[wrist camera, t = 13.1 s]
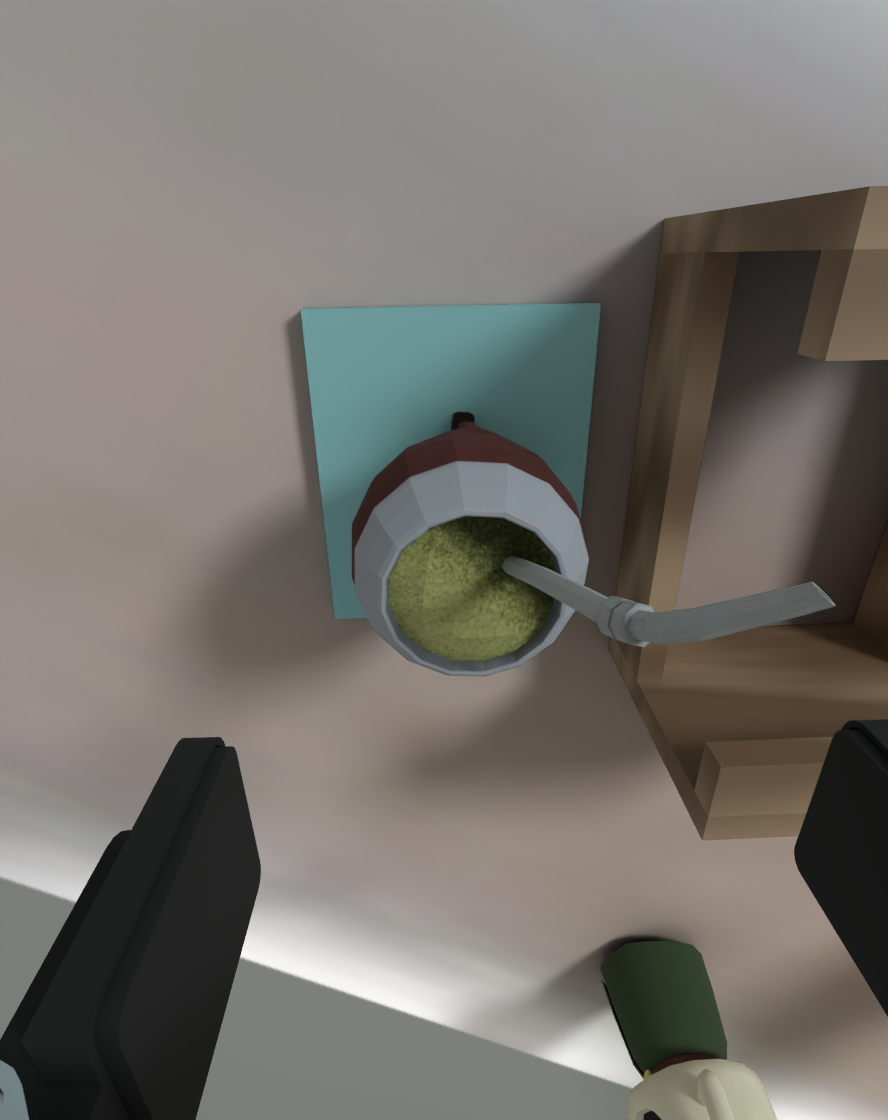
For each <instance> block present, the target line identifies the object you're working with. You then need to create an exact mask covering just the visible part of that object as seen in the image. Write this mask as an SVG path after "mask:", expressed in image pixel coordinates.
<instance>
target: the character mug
mask: <svg viewBox="0 0 888 1120" xmlns="http://www.w3.org/2000/svg"><path fill="white" fill-rule="evenodd" d="M601 971H602V974H603V977H604V980H605V983H606V984H605V983H603V981H602V983H603V986H604V989H605V992H606V995H607V998H608V1000H609V1003H610V1006H611V1009H612V1012H613V1015H614V1017H615V1020H616V1022H617V1025H618V1027H619V1030H620V1033H621V1035H622V1038H623V1040H624V1043H625V1045H626V1048H627V1050H628V1052H629V1055H630V1057H631V1060H632V1062H633V1065H634V1066H635V1068H636V1069H637V1071H638V1072H639V1073H640V1075H641V1076H642V1077H643V1079H644V1080H643V1081H642V1082H641V1083H639V1084H638V1085H637V1086H635V1087H634V1088H633V1090H632V1091H631V1092H630V1093H629V1095H628V1098H627V1107H628V1114H629V1119H630V1120H777V1118H776V1115H775V1113H774V1111H773V1108H772V1106H771V1103H770V1101H769V1099H768V1096H767V1094H766V1092H765V1089H764V1087H763V1085H762V1083H761V1081H760V1079H759V1077H758V1076H757V1074H756V1072H755V1071H753V1070H752V1069H750V1068H749V1067H747V1066H746V1065H744V1064H743V1063H740V1062H734V1061H728V1060H727V1041H726V1037H725V1033H724V1030H723V1026H722V1022H721V1019H720V1015H719V1011H718V1008H717V1004H716V1000H715V997H714V993H713V989H712V986H711V983H710V980H709V977H708V974H707V971H706V967H705V964H704V961H703V958H702V955H701V953H700V952H699V951H698V950H697V949H696V948H695V947H694V946H693V945H690V944H686V943H682V942H678V941H647V942H635V943H627V944H626V945H624V946H622V947H620V948H619V949H617V950H615V951H614V952H612V953H610V954H609V956H608V957H607V959H606V960H605V961H604V963H603V964H602V965H601Z"/></svg>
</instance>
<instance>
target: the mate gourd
mask: <svg viewBox="0 0 888 1120" xmlns="http://www.w3.org/2000/svg"><path fill="white" fill-rule="evenodd" d="M588 563H589V557H588V553H587V543H586V539H585V535H584V531H583V527H582V523H581V520H580V516H579V512H578V508H577V504H576V502H575V500H574V498H573V496H572V494H571V493H570V492H569V491H568V489H567V488H566V487H565V486H564V484H563V483H562V482H561V481H560V480H559V478H558V477H557V476H556V475H555V473H554V472H553V471H552V470H551V469H550V467H549V466H548V465H547V464H546V462H545V461H544V460H543V459H542V458H541V457H539V456H538V455H537V454H536V453H534V452H532V451H530V450H528V449H526V448H524V447H522V446H520V445H518V444H516V443H514V442H512V441H510V440H508V439H506V438H504V437H502V436H500V435H498V434H496V433H494V432H491V431H488V430H485V429H482V428H479V427H478V426H477V425H476V424H475V423H474V415H473V414H472V413H470V412H458V411H457V412H455V413H453V416H452V423H451V431H447V432H444V433H442V434H439V435H437V436H434V437H432V438H430V439H427V440H425V441H422V442H420V443H417V444H415V445H412V446H409V447H407V448H406V449H405V450H404V451H403V452H401V453H400V454H399V455H398V456H397V457H396V458H395V459H394V460H393V461H392V462H390V463H389V464H388V465H387V466H386V467H385V468H384V469H383V470H382V471H381V472H379V473H378V474H377V475H376V476H375V477H374V479H373V480H372V482H371V484H370V486H369V488H368V490H367V492H366V494H365V496H364V499H363V501H362V503H361V505H360V507H359V509H358V512H357V514H356V516H355V518H354V520H353V522H352V579H353V582H354V585H355V593H356V595H357V597H358V600H359V602H360V604H361V606H362V608H363V610H364V612H365V614H366V617H367V619H368V621H369V623H370V625H371V627H372V629H373V630H374V631H375V632H376V633H377V634H378V635H379V636H380V637H382V638H383V639H384V640H385V641H386V642H387V643H388V644H389V645H391V646H392V647H393V648H394V649H395V650H396V651H397V652H399V653H400V654H401V655H402V656H403V657H404V658H406V659H407V660H408V661H410V662H413V663H416V664H418V665H421V666H424V667H426V668H429V669H432V670H434V671H437V672H440V673H442V674H445V675H452V676H488V675H492V674H495V673H498V672H502V671H505V670H508V669H512V668H515V667H518V666H521V665H522V664H524V663H525V662H527V661H528V660H529V659H531V658H532V657H534V656H535V655H536V654H538V653H539V652H541V651H542V650H543V649H545V648H546V647H548V646H549V645H550V644H552V643H553V642H555V640H556V639H557V637H558V636H559V634H560V633H561V631H562V630H563V628H564V627H565V625H566V624H567V622H568V621H569V619H570V618H571V616H572V615H573V613H574V612H575V610H576V611H578V612H579V613H581V614H583V615H584V616H586V617H588V618H589V619H591V620H593V621H594V622H596V624H597V626H598V627H599V629H600V631H601V633H603V634H605V635H607V636H609V637H611V638H614V639H617V640H618V641H621V642H624V643H627V644H630V645H634V646H640V647H645V646H646V645H647V644H649V643H650V642H652V643H658V644H668V643H682V642H697V641H706V640H710V639H713V638H717V637H721V636H725V635H729V634H733V633H737V632H741V631H745V630H748V629H752V628H756V627H760V626H764V625H768V624H772V623H776V622H780V621H784V620H787V619H791V618H795V617H799V616H803V615H807V614H810V613H814V612H817V611H821V610H824V609H828V608H831V607H835V604H834V603H833V601H832V600H831V599H830V598H829V597H828V596H827V595H826V594H825V593H824V592H823V591H822V590H821V589H820V588H819V587H818V586H817V585H816V584H815V583H814V582H813V581H812V582H808V583H803V584H799V585H795V586H790V587H786V588H781V589H777V590H773V591H768V592H764V593H759V594H755V595H750V596H746V597H742V598H737V599H733V600H728V601H724V602H720V603H715V604H711V605H706V606H702V607H697V608H693V609H684V610H673V611H662V612H654V610H653V608H652V606H649V605H645V604H641V603H637V602H634V601H631V600H628V599H624V598H620V597H615V596H610V597H606V596H604V595H602V594H600V593H598V592H596V591H594V590H592V589H590V588H588V587H586V586H584V584H585V578H586V573H587V568H588Z"/></svg>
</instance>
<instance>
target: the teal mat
mask: <svg viewBox="0 0 888 1120" xmlns="http://www.w3.org/2000/svg"><path fill="white" fill-rule="evenodd" d="M600 310H601V304H599V303H561V304H507V305H452V306H397V307H342V308H303V309H301V319H302V328H303V337H304V346H305V355H306V364H307V373H308V382H309V391H310V400H311V409H312V418H313V427H314V436H315V445H316V454H317V463H318V472H319V481H320V490H321V499H322V508H323V517H324V526H325V535H326V544H327V553H328V562H329V571H330V580H331V589H332V598H333V607H334V616H335V619H356V618H367V617H366V614H365V612H364V610H363V608H362V606H361V604H360V602H359V600H358V597H357V595H356V593H355V585H354V582H353V579H352V522H353V520H354V518H355V516H356V514H357V512H358V509H359V507H360V505H361V503H362V501H363V499H364V496H365V494H366V492H367V490H368V488H369V486H370V484H371V482H372V480H373V479H374V477H375V476H376V475H377V474H378V473H379V472H381V471H382V470H383V469H384V468H385V467H386V466H387V465H388V464H389V463H390V462H392V461H393V460H394V459H395V458H396V457H397V456H398V455H399V454H400V453H401V452H403V451H404V450H405V449H406V448H407V447H409V446H412V445H415V444H417V443H420V442H422V441H425V440H427V439H430V438H432V437H434V436H437V435H439V434H442V433H444V432H447V431H451V423H452V416H453V413H455V412H457V411H458V412H470V413H472V414H473V415H474V423H475V424H476V425H477V426H478V427H479V428H482V429H485V430H488V431H491V432H494V433H496V434H498V435H500V436H502V437H504V438H506V439H508V440H510V441H512V442H514V443H516V444H518V445H520V446H522V447H524V448H526V449H528V450H530V451H532V452H534V453H536V454H537V455H538V456H539V457H541V458H542V459H543V460H544V461H545V462H546V464H547V465H548V466H549V467H550V469H551V470H552V471H553V472H554V473H555V475H556V476H557V477H558V478H559V480H560V481H561V482H562V483H563V484H564V486H565V487H566V488H567V489H568V491H569V492H570V493H571V494H572V496H573V498H574V500H575V502H576V504H577V508H578V512H579V516H580V520H581V512H582V501H583V491H584V480H585V470H586V459H587V448H588V438H589V427H590V416H591V406H592V395H593V384H594V374H595V363H596V352H597V342H598V331H599V320H600Z"/></svg>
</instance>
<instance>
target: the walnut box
mask: <svg viewBox="0 0 888 1120" xmlns="http://www.w3.org/2000/svg"><path fill="white" fill-rule="evenodd" d="M758 251H821V255H820V259H819V263H818V267H817V272H816V276H815V280H814V284H813V289H812V293H811V297H810V301H809V306H808V310H807V314H806V318H805V323H804V327H803V331H802V335H801V340H800V344H799V348H798V352H797V354H799V355H803V356H806V357H810V358H814V359H818V360H822V361H858V360H888V186H873V187H864V188H857V189H851V190H845V191H838V192H832V193H825V194H819V195H813V196H806V197H800V198H793V199H787V200H781V201H774V202H768V203H762V204H755V205H749V206H742V207H736V208H730V209H723V210H717V211H710V212H704V213H698V214H691V215H685V216H679V217H672V218H666V219H664V227H663V234H662V242H661V250H660V257H659V265H658V273H657V281H656V288H655V296H654V304H653V311H652V319H651V327H650V335H649V342H648V350H647V358H646V366H645V373H644V381H643V389H642V396H641V404H640V412H639V420H638V427H637V435H636V443H635V450H634V458H633V466H632V474H631V481H630V489H629V497H628V505H627V512H626V520H625V528H624V535H623V543H622V551H621V559H620V566H619V574H618V582H617V589H616V597H620V598H624V599H628V600H631V601H634V602H637V603H641V604H645V605H649V606H652V608H653V610H654V612H662V611H673V610H675V605H676V599H677V594H678V588H679V583H680V577H681V572H682V566H683V561H684V555H685V550H686V544H687V539H688V533H689V528H690V522H691V517H692V511H693V506H694V500H695V495H696V489H697V484H698V478H699V473H700V467H701V462H702V456H703V451H704V445H705V440H706V434H707V429H708V423H709V418H710V412H711V407H712V401H713V396H714V390H715V385H716V379H717V374H718V368H719V363H720V357H721V352H722V346H723V341H724V335H725V330H726V324H727V319H728V313H729V308H730V302H731V297H732V291H733V286H734V280H735V275H736V269H737V264H738V258H739V253H740V252H758ZM609 652H610V654H611V656H612V658H613V660H614V662H615V664H616V666H617V668H618V670H619V672H620V674H621V676H622V678H623V680H624V682H625V684H626V686H627V688H628V690H629V692H630V695H631V697H632V699H633V701H634V703H635V705H636V707H637V709H638V711H639V713H640V715H641V717H642V719H643V721H644V723H645V725H646V727H647V729H648V731H649V733H650V735H651V737H652V739H653V741H654V743H655V745H656V747H657V749H658V751H659V753H660V756H661V758H662V760H663V762H664V764H665V766H666V768H667V770H668V772H669V774H670V776H671V778H672V780H673V782H674V784H675V786H676V788H677V790H678V792H679V794H680V796H681V798H682V800H683V802H684V804H685V806H686V808H687V810H688V812H689V814H690V817H691V819H692V821H693V823H694V825H695V827H696V829H697V831H698V833H699V835H700V837H701V839H702V840H722V839H744V838H765V837H787V836H799V833H800V830H801V827H802V824H803V822H804V819H805V816H806V813H807V810H808V807H809V804H810V801H811V798H812V796H813V793H814V790H815V787H816V784H817V781H818V778H819V775H820V772H821V770H822V767H823V764H824V761H825V758H826V755H827V752H828V749H829V746H830V743H831V741H832V738H833V736H834V734H835V733H836V732H837V731H838V730H841V729H842V727H843V726H844V724H845V723H847V722H848V721H852V720H881V719H888V522H887V525H886V528H885V531H884V534H883V536H882V539H881V542H880V545H879V548H878V551H877V554H876V557H875V560H874V563H873V566H872V569H871V572H870V575H869V578H868V581H867V584H866V587H865V590H864V593H863V595H862V598H861V601H860V604H859V607H858V610H857V613H856V616H855V619H854V622H853V623H836V624H808V625H780V626H760V627H756V628H752V629H748V630H745V631H741V632H737V633H733V634H729V635H725V636H721V637H717V638H713V639H710V640H706V641H697V642H682V643H668V644H658V643H652V642H650V643H649V644H647V645H646V646H645V647H640V646H634V645H630V644H627V643H624V642H621V641H618V640H617V639H614V638H611V637H610V643H609Z"/></svg>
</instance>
